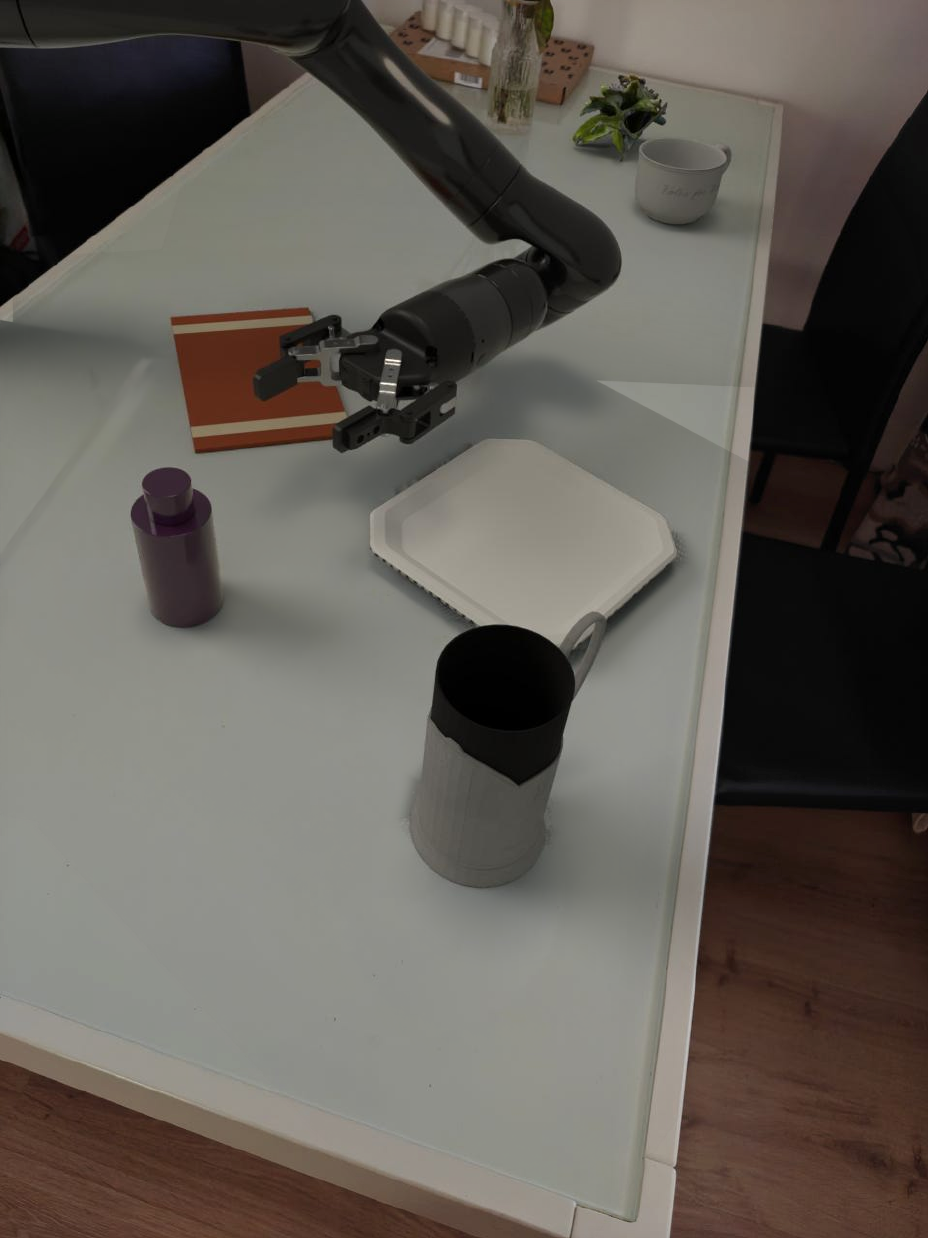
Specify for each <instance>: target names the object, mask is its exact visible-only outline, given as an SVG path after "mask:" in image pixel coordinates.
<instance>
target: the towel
mask: <svg viewBox="0 0 928 1238" xmlns="http://www.w3.org/2000/svg"><path fill="white" fill-rule="evenodd" d="M312 322H314V320H313V317H312V314H311V311H310V309H309V307H306V306H305V307H292V308H279V309H277V308H276V309H265V310H264V309H263V310H250V311H249V310H248V311H237V312H222V313H220V312H219V313H208V314H207V313H206V314H195V315H194V314H193V315H180V316H179V315H178V316H170V323H171V328H172V333H173V339H174V345H175V350H176V356H177V361H178V367H179V373H180V378H181V384H182V388H183V394H184V399H185V406H186V410H187V416H188V422H189V427H190V433H191V438H192V444H193V449H194V453H195V454H199V453H208V452H217V451H226V450H237V449H246V448H256V447H265V446H275V445H284V444H285V445H286V444H292V443H293V444H294V443H302V442H313V441H323V440H332V430H333V427H334V426H335V424H337V423H338V422H340V421H342V420H344V419H345V418H347V417H348V415H347V412H346V410H345V407H344V404H343V401H342V398H341V395H340V392H339V390H338V388H337V387H338V386H323V385H322V384H321V382H318V381H316V382H298V385H296V386H294V387H292V388H290V389H288V390H286V391H284V392H282V393H280V394H278V395H276V396H274V397H272V398H270V399H269V400H267V401H261V400H260V399H258V398H257V397H255V395H254V385H253V377H254V375H255V373H256V371H257V370H259V369H261V368H263V367H265V366H267V365H269V364H271V363H273V362H275V361H277V360H279V359H280V346H279V337H280V336H281V335H284V334H286V333H288V332H291V331H293V330H296V329H298V328H300V327H303V326H305V325H308V324H310V323H312ZM297 347H302V343H300V344H298V345H297ZM319 365H320V361H319V360H312V361H309V362H307V363H305V368H317V367H319Z"/></svg>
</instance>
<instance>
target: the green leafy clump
mask: <svg viewBox="0 0 928 1238" xmlns="http://www.w3.org/2000/svg"><path fill="white" fill-rule="evenodd" d="M617 78H618V80H619V84H618V85H617V83H615V84H613V83H612V82H611V85H612V86H608V85H609V84H607V86H605V85H602V86H601V87H600V92H599V94H597V96H595V95H593V94H590V95H589V97H588V99H589V100H590V103H589V102H585V103H584V107H583V108H582V109H581V111H580V114H579V117H583V116H584V115H586V114H590V113H592V112H597V111H599V114H596V115H594V116H591V117H590V118H589V119H587V120H585V121H584V122H583V124H582V125H580V126H579V127H578V128H577V130H576V131H575V133H574V134H573V136H572V141H573V143H575V145H576V146H578V145H579V142H582V144H590V143H593V142H595V141H597V140H599V139H601V138H603V137H606V136H608V135H611V134H612V142H613V144H614V146H615V148H616V149H617V150H618V151H619V152H620V153H623V155H622V156H621V158H620V160H619V162H623V160H624V159H625V157H626V156H627V154H628V152H629V150H630V148H631V147H632V146H633V144H634V143H635V142H637V141H638V140H639V138H640V137H641V136H642V135H643V133H644V131H645V130H646V129H647V128H648V127H649V126H650V125H651V124H653V123H655V124H657V125H659V126H665V125H666V123H667V119H666V118H665V117H664V115H666V114H667V111H666V110H667V108H668V102H667V101H666V102H665V103H664V104H663V105H662V101H663V100H662V99H661V98H659V96H660V94H659V93H658V92H656V93H654V92H655V89H652V88H650V89H649V88H648V86H646V84H647V82H646V79H645V78H640V77H639V76H637V75H635V74H629V75H628V76H626V75H623V74H619V75H618V76H617ZM623 151H624V152H623Z"/></svg>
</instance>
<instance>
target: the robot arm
mask: <svg viewBox="0 0 928 1238" xmlns="http://www.w3.org/2000/svg"><path fill="white" fill-rule="evenodd" d="M171 35H172V36H175V35H176V36H177V35H178V36H192V37H202V38H211V39H219V40H229V41H236V42H244V43H248V44H255V45H261V46H264V47H265V48H267V49H269V50H271V51H272V52H274V53H277V54H280V55H282V56H283V57H286V58H287V59H288V60H289V61H291V62H292V63H293V64H295V65H296V66H298V67H299V68H301V69H302V70H304V71H305V72H306V73H308V74H309V75H310V76H311V77H313V78H314V79H316V80H317V81H318V82H320V83H321V84H322V85H324V86H325V87H326V88H327V89H329V90H330V91H331V92H333V93H334V94H335V95H336V96H337V97H338V98H339V99H341V100H342V101H343V102H344V103H345V104H346V105H347V106H348V107H350V109H351V110H352V111H354V112H355V113H356V114H357V115H358V116H359V117H360V118H361V119H362V120H363V121H364V122H365V123H366V124H367V125H368V126H369V127H370V128H371V129H372V130H373V131H374V133H376V134H377V135H378V136H379V137H380V139H382V140H383V142H384V143H385V144H386V145H387V146H388V147H389V148H390V149H391V151H393V152H394V153H395V155H396V156H397V157H398V159H400V160H401V161H402V162H403V164H405V166H406V167H407V168H408V169H409V171H410V172H411V173H412V174H413V175H414V176H415V177H416V178H417V179H418V181H420V182H421V183H422V185H423V186H424V187H425V188H426V189H427V190H428V191H429V192H430V193H431V194H432V195H433V196H434V197H435V198H436V199H437V200H438V201H439V202H440V204H442V205H443V206H444V207H445V208H446V209H447V210H448V211H449V212H450V213H451V215H453V216H454V217H455V218H456V219H457V220H458V221H459V222H460V223H461V224H462V225H463V226H464V227H465V229H467V230H468V231H469V232H470V234H472V235H473V236H474V237H475V238H476V239H478V240H479V241H480V242H482V243H483V244H485V245H489V246H494V245H498V244H502V243H504V242H507V241H512V240H513V241H514V240H519V241H522V242H524V243H526V244H528V245H529V247H528V248H526V249H525V250H524V251H522V252H521V253H519V254H518V255H515V256H514V257H507V258H500V259H497V260H494V261H491V262H488V263H486V264H484V265H482V266H480V267H479V268H476V269H474V270H472V271H470V272H468V273H466V274H463V275H462V276H459V277H455V278H450V279H448V280H445V281H443V282H441V283H439V284H436V285H434V286H433V287H430V288H428V289H426V290H424V291H422V292H420V293H418V294H416V295H414V296H411V297H410V298H408V299H406V300H404V301H402V302H399V303H398V304H396V305H394V306H391V307H389V308H387V309H386V310H385V311H383V312H382V313H381V314H380V316H379V317H378V319H377V320H376V321H375V322H374V324H373V325H372V326H371V328H369V329H367V330H362V331H355V332H350V331H348V330H347V329H346V328H344V327H343V321H342V320H343V319H342V316H340V315H338V314H330V315H327V316H324V317H321V318H320V319H318V320H315V321H313V322H312V323H310V324H308V325H305V326H303V327H300V328H298V329H296V330H293V331H291V332H288V333H286V334H284V335H281V336H280V337H279V346H280V359H279V360H277V361H275V362H273V363H271V364H269V365H267V366H265V367H263V368H261V369H259V370H257V371H256V373H255V375H254V377H253V385H254V395H255V397H257V398H258V399H260V400H261V401H267V400H269V399H270V398H272V397H274V396H276V395H278V394H280V393H282V392H284V391H286V390H288V389H290V388H292V387H294V386H296V385H298V382H316V381H318V382H321V384H322V385H323V386H336V387H342V386H343V387H345V388H346V389H348V390H350V391H353V392H356V393H357V394H359V395H360V397H361V398H362V399H364V400H366V401H367V402H368V403H371V402H373V401H374V402H376V404H375V405H376V407H373V406H371V405H370V404H369V405H367V406H366V407H363V408H362V409H360V410H358V411H356V412H355V413H352V414H351V415H349V416H347V418H345V419H344V420H342V421H340V422H338V423H337V424H335V426H334V427H333V430H332V439H331V440H332V441H331V442H332V448H333V449H334V450H335V451H337V452H338V453H340V454H344V453H346V452H347V451H353V450H357V449H359V448H362V447H363V446H365V445H366V444H367V443H370V442H371V441H373V440H375V439H376V438H379V437H383V438H387V437H390V436H392V435H393V436H396V437H398V440H399V442H400V443H402V444H404V445H412V444H414V443H415V442H417V441H418V440H420V439H422V438H423V437H424V436H426V435H427V434H428V433H430V432H431V431H433V430H434V429H436V428H437V427H439V426H440V425H442V424H443V423H445V422H446V421H447V420H448V419H450V418H452V417H453V416H454V415H456V408H457V399H458V397H457V396H458V383H457V382H459V381H461V380H463V379H464V378H466V377H467V376H469V375H471V374H473V373H475V372H476V371H478V370H480V369H482V368H483V367H484V366H486V365H487V364H489V363H490V362H491V361H492V360H493V359H495V358H496V357H497V356H499V355H500V354H501V353H503V352H505V351H506V350H508V349H510V348H512V347H513V346H515V345H517V344H519V343H521V342H522V341H523V340H525V339H526V338H528V337H530V336H531V335H532V334H533V333H535V332H538V331H540V330H542V329H544V328H547V327H548V326H551V325H552V324H555V323H557V322H559V321H560V320H562V319H563V318H565V317H567V316H569V315H570V314H572V313H573V312H576V311H577V310H578V309H580V308H581V307H583V306H584V305H586V304H588V303H589V302H591V301H592V300H594V299H596V298H597V297H599V296H600V295H602V294H604V293H605V292H607V291H608V290H610V288H612V287H613V286H614V285H615V283H616V282H617V281H618V279H619V277H620V275H621V272H622V266H623V257H622V252H621V248H620V245H619V242H618V240H617V238H616V236H615V235H614V233H613V231H612V230H611V228H610V227H609V226H608V224H606V222H605V221H603V219H602V218H600V217H599V216H598V215H597V214H596V213H595V212H593V211H591V210H590V209H589V208H587V207H585V206H584V205H582V204H581V203H579V202H577V201H575V200H574V199H572V198H571V197H569V196H567V195H566V194H563V193H562V192H561V191H559V190H557V189H556V188H554V187H553V186H552V185H549V184H548V183H546V182H545V181H543V180H542V179H538V178H537V177H536V176H534V175H532V173H530V172H529V171H528V170H527V168H526V167H525V166H524V165H523V164H522V163H521V162H520V160H519V159H518V158H516V156H515V155H514V154H513V153H512V152H511V151H510V150H509V149H508V148H507V147H506V146H505V145H504V144H503V143H502V142H501V140H499V138H498V137H497V136H496V135H495V134H494V133H493V132H492V131H491V130H490V129H489V128H488V127H487V126H486V125H485V124H484V123H483V122H482V121H481V120H479V118H478V117H476V115H474V114H473V113H472V112H471V111H470V110H469V109H468V108H466V107H465V106H464V105H463V104H462V103H461V102H460V101H459V100H458V99H457V98H455V97H454V96H453V95H452V94H451V93H450V92H449V91H447V90H446V89H445V88H443V87H442V86H441V85H440V84H439V83H438V82H436V81H435V80H434V79H433V78H432V77H431V76H430V75H428V74H427V73H426V72H425V71H424V70H423V69H422V68H421V67H419V66H418V64H416V62H415V61H413V60H412V58H410V57H409V56H408V55H407V54H406V52H404V50H403V49H402V48H401V47H400V46H399V45H398V44H397V43H396V42H395V41H394V40H393V39H392V38H391V36H390V35H389V34H388V32H387V31H385V29H384V28H383V27H382V26H381V24H380V23H379V22H378V21H377V19H376V18H375V16H374V15H373V14H372V12H371V11H370V9H369V8H368V7H367V5H366V4H365V2H364V1H363V0H0V49H2V48H3V49H66V48H67V49H68V48H80V47H89V46H97V45H105V44H111V43H118V42H123V41H129V40H134V39H139V38H146V37H153V36H154V37H155V36H171ZM300 343H302V347H297V345H298V344H300ZM339 354H340V356H339V359H338V371H332V370H331V358H332V356H334V355H339ZM312 360H319V361H320V365H319V367H317V368H305V363H307V362H309V361H312ZM402 401H412V402H410V403H409V404H407V405H406V406H405V407H403V408H401V409H399V405H400V404H401V403H400V402H402Z"/></svg>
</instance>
